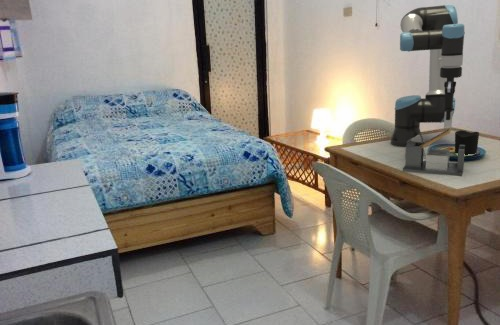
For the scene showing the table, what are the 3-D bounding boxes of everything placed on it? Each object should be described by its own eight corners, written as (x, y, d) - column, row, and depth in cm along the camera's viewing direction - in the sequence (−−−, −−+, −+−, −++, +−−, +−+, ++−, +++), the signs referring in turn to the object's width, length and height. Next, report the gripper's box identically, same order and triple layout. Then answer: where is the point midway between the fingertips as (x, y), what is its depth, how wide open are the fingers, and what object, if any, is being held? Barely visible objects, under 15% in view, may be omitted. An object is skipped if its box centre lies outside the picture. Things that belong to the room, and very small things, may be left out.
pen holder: (461, 158, 189) (462, 136, 186) (449, 152, 198) (450, 131, 195) (481, 156, 190) (483, 134, 187) (469, 150, 199) (471, 129, 196)
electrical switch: (418, 159, 192) (417, 139, 190) (406, 159, 196) (405, 139, 194) (425, 154, 199) (424, 134, 197) (413, 154, 203) (412, 134, 200)
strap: (416, 152, 179) (414, 149, 179) (417, 149, 182) (415, 147, 182) (450, 133, 171) (448, 130, 171) (451, 130, 174) (449, 127, 174)
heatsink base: (402, 171, 179) (403, 148, 176) (407, 162, 190) (408, 139, 187) (462, 175, 169) (463, 151, 166) (463, 165, 180) (465, 142, 177)
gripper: (441, 65, 173) (438, 123, 180) (438, 68, 162) (435, 130, 169) (463, 64, 169) (459, 124, 176) (461, 68, 158) (457, 131, 165)
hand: (447, 127), depth 173 cm, fingers closed
